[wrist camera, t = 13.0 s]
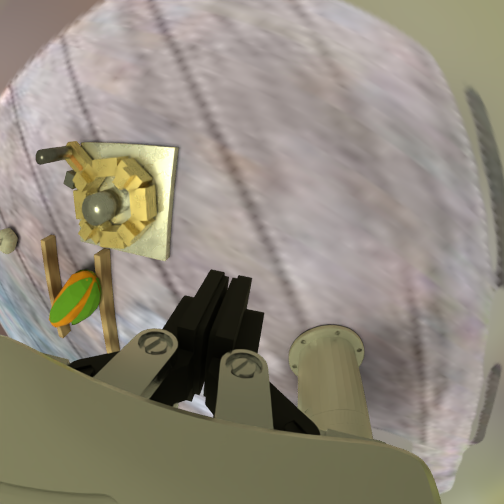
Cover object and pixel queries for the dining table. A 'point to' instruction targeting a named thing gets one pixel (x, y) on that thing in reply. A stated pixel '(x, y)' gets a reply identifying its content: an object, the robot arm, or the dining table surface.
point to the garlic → (7, 241)
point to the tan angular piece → (125, 178)
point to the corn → (76, 299)
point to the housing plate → (118, 202)
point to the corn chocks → (105, 282)
